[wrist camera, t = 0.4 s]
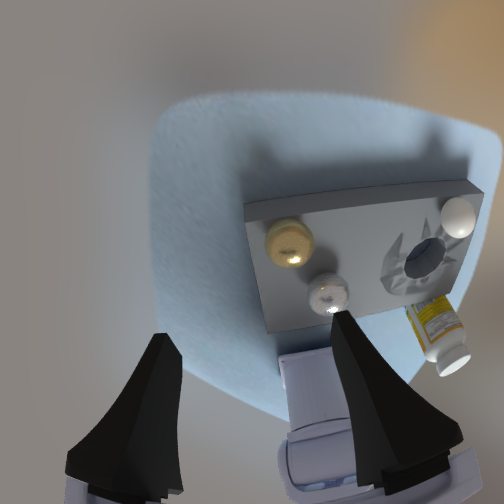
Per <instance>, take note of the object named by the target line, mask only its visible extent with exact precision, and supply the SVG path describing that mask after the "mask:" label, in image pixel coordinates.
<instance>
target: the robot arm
mask: <svg viewBox="0 0 504 504" xmlns="http://www.w3.org/2000/svg"><path fill="white" fill-rule="evenodd" d="M330 341H331V347H326V348H321V349H316V350H310V351H305V352H299V353H293V354H286V355H281V356H279V357H278V361H279V366H280V372H281V378H282V384H283V388H285V389H286V394H287V402H288V410H289V418H290V425H291V426H290V427H291V432H290V433H287V437H288V439H286V440H284V441H283V442H282V444H281V445H280V447H279V450H278V467H279V472H280V476H281V479H282V481H283V482H284V485H285V489H286V493H287V495H288V496H289V499H290V500H291V501H293V502H295V503H297V504H459V503H461V502H462V501H464V500H465V499H467V498H468V497H470V496H471V495H473V494H474V493H476V492H477V491H479V490H480V489H481V488H482V487H483V484H482V479H481V474H480V469H479V465H478V460H477V456H476V452H475V448H474V447H473V446H472V447H470V448H468V449H466V450H464V451H462V452H460V453H458V454H455V455H453V456H450V457H448V455H450V451H449V449H450V448H452V447H454V446H456V445H458V444H460V443H461V442H462V441H463V440H464V439H463V436H462V432H461V429H460V427H459V425H458V423H457V422H456V421H454V420H452V419H451V418H449V417H448V416H446V415H445V414H443V413H442V412H440V411H439V410H438V409H436V408H435V407H434V406H432V405H431V404H430V403H428V402H427V401H426V400H425V399H424V398H423V397H421V396H420V395H419V394H418V393H417V392H415V391H414V390H413V389H412V388H411V387H410V386H409V385H408V384H407V383H406V382H405V381H404V380H403V379H402V378H401V377H400V376H399V375H398V374H397V373H396V372H395V371H394V370H393V369H392V368H391V366H390V365H389V364H388V363H387V362H386V361H385V360H384V358H383V357H382V356H381V355H380V353H379V352H378V351H377V350H376V348H375V347H374V346H373V345H372V343H371V342H370V341H369V339H368V338H367V337H366V335H365V334H364V332H363V331H362V330H361V328H360V327H359V325H358V324H357V322H356V321H355V319H354V318H353V316H352V315H351V313H350V312H349V311H348V310H344V311H339V312H334V313H333V321H332V329H331V336H330ZM181 384H182V355H181V354H180V352H179V351H178V349H177V348H176V346H175V345H174V343H173V342H172V340H171V339H170V337H169V336H168V334H167V333H156V334H154V335H153V337H152V339H151V341H150V343H149V344H148V346H147V348H146V350H145V352H144V354H143V356H142V358H141V359H140V361H139V363H138V365H137V367H136V368H135V370H134V372H133V374H132V375H131V377H130V379H129V381H128V382H127V384H126V386H125V387H124V389H123V390H122V392H121V394H120V395H119V397H118V398H117V399H116V401H115V402H114V404H113V405H112V406H111V408H110V409H109V410H108V412H107V413H106V414H105V415H104V417H103V418H102V419H101V421H100V422H99V423H98V424H97V425H96V426H95V427H94V428H93V429H92V430H91V431H90V433H88V434H87V436H86V437H84V438H83V439H82V440H81V441H80V442H79V443H78V444H77V445H76V446H74V447H73V448H72V449H71V450H69V451H68V454H67V461H66V468H65V473H66V474H67V475H68V476H71V477H73V478H75V479H72V478H69V477H67V478H66V488H65V501H64V504H164V503H161V498H164V499H168V494H177V495H179V494H181V493H182V492H183V491H184V490H183V485H182V480H181V474H180V467H179V458H178V442H177V419H178V409H179V401H180V391H181ZM76 479H78V480H80V481H78V480H76ZM81 481H83V482H81ZM85 482H86V483H85ZM373 485H374V489H373V490H370V491H367V490H369V489H370V488H371V487H372V486H373Z"/></svg>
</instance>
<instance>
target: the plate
mask: <svg viewBox="0 0 504 504" xmlns="http://www.w3.org/2000/svg"><path fill="white" fill-rule="evenodd" d="M456 197H459V198H463V199H465V200H467V201H468V202H469V203H470V204H471V205H472V207H473V209H474V211H475V215H476V223H477V219H478V216H479V212H480V208H481V205H482V201H483V197H484V192H482V191H481V190H480V189H479V188H477V187H476V186H475V185H474V184H472V183H471V182H470V181H468V180H452V181H435V182H420V183H407V184H395V185H384V186H374V187H364V188H355V189H346V190H337V191H329V192H321V193H313V194H306V195H299V196H292V197H285V198H278V199H271V200H265V201H259V202H252V203H246V204H244V223H245V228H246V233H247V238H248V242H249V247H250V252H251V257H252V261H253V266H254V271H255V276H256V281H257V285H258V290H259V295H260V300H261V304H262V309H263V314H264V319H265V323H266V328H267V333H268V334H269V333H276V332H283V331H289V330H296V329H302V328H308V327H313V326H319V325H324V324H329V323H332V321H333V316H321V315H319V314H317V313H315V312H314V311H313V310H312V309H311V308H310V306H309V304H308V302H307V297H306V293H307V288H308V285H309V283H310V282H311V281H312V279H313V278H315V277H316V276H317V275H319V274H321V273H326V272H332V273H336V274H338V275H340V276H341V277H343V278H344V279H345V281H346V282H347V284H348V286H349V289H350V298H349V302H348V304H347V306H346V307H345V309H344V310H348V311H349V312H350V313H351V315H352V316H353V318H358V317H363V316H367V315H372V314H376V313H380V312H384V311H388V310H392V309H396V308H400V307H404V306H408V305H411V304H415V303H419V302H422V301H426V300H429V299H433V298H436V297H439V296H443V295H446V294H449V293H450V292H451V290H452V287H453V285H454V283H455V281H456V278H457V276H458V273H459V271H460V269H461V266H462V263H463V261H464V258H465V256H466V253H467V250H468V247H469V244H470V241H471V238H472V235H473V232H474V229H475V227H474V229H473V231H472V232H471V233H470V234H469V235H468V236H466V237H464V238H454V237H452V236H450V235H449V234H448V233H446V231H445V230H444V228H443V226H442V224H441V210H442V208H443V206H444V204H445V203H446V202H447V201H448V200H450V199H452V198H456ZM288 218H291V219H296V220H299V221H301V222H303V223H304V224H306V225H307V226H308V227H309V228H310V230H311V232H312V234H313V236H314V241H315V246H314V251H313V254H312V256H311V258H310V259H309V260H308V261H307V262H306V263H305V264H304V265H302V266H300V267H298V268H294V269H285V268H281V267H279V266H277V265H275V264H274V263H273V262H272V261H271V260H270V259H269V258H268V256H267V254H266V251H265V246H264V241H265V236H266V233H267V231H268V230H269V228H270V227H271V226H272V225H273V224H274V223H276V222H277V221H280V220H282V219H288ZM476 223H475V226H476ZM428 238H431V241H430V244H429V245H428V247H427V248H426V250H425V251H424V252H423V253H422V254H421V255H419V256H418V257H416V258H415V259H413V260H408V261H406V258H407V257H408V255H409V254H410V253H411V251H412V250H413V249H414V247H415V246H417V245H418V244H420V243H421V242H423V241H424V240H425V239H428ZM344 310H343V311H344Z"/></svg>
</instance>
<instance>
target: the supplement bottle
mask: <svg viewBox="0 0 504 504" xmlns="http://www.w3.org/2000/svg"><path fill="white" fill-rule="evenodd" d="M405 312H406V315H407V317H408V319H409V321H410V323H411V326H412V328H413V330H414V332H415V334H416V337H417V339H418V341H419V343H420V345H421V348H422V350H423V353H424V355H425V357H426V359H427V360H428V361H431V362H437V364H436V369H437V370H438V373H439V375H440V376H446V375H448V374H451V373H453V372H454V371H456V370H457V369H459V368H460V367H462V366H463V365H464V364H465V363H466V362H467V361H468V360H469V359H470V357H471V355H470V352H469V350H468V348H467V347H466V345H463V343H464V341H465V339H466V331H465V329H464V327H463V325H462V323H461V322H460V320H459V318H458V316H457V315H456V313H455V311H454V309H453V308H452V306H451V304H450V303H449V301H448V299H447V298H446V296H445V295H443V296H439V297H436V298H433V299H429V300H426V301H422V302H419V303H415V304H411V305H408V306H406V307H405Z"/></svg>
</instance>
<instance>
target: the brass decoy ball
mask: <svg viewBox="0 0 504 504" xmlns="http://www.w3.org/2000/svg"><path fill="white" fill-rule="evenodd" d="M264 246H265V251H266V254H267V256H268V258H269V259H270V260H271V261H272V262H273V263H274V264H275V265H277V266H279V267H281V268H285V269H294V268H298V267H300V266H302V265H304V264H305V263H306V262H307V261H308V260H309V259H310V258H311V256H312V254H313V251H314V246H315V241H314V236H313V234H312V232H311V230H310V228H309V227H308V226H307V225H306V224H304V223H303V222H301V221H299V220H296V219H291V218H288V219H282V220H280V221H277V222H276V223H274V224H273V225H272V226H271V227H270V228H269V230H268V231H267V233H266V236H265V241H264Z"/></svg>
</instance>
